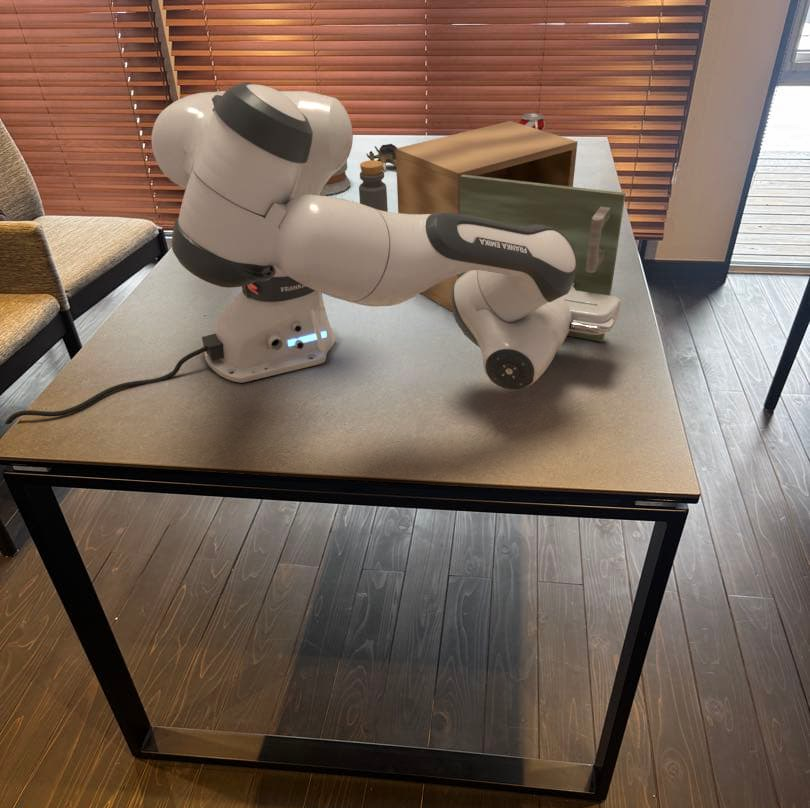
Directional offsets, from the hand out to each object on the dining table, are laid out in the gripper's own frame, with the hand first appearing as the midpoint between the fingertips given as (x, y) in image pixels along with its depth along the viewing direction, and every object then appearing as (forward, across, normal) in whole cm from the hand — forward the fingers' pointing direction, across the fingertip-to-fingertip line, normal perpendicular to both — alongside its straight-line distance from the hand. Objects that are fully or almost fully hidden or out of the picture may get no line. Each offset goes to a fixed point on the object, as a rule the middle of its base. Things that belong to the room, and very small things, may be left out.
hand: (565, 285), depth 131 cm
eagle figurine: (+74, +67, +9) cm, 100 cm away
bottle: (+30, +50, +9) cm, 59 cm away
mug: (+53, +76, +9) cm, 93 cm away
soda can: (+86, +33, +9) cm, 93 cm away
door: (-2, +6, +9) cm, 11 cm away
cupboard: (+17, +21, +9) cm, 28 cm away
